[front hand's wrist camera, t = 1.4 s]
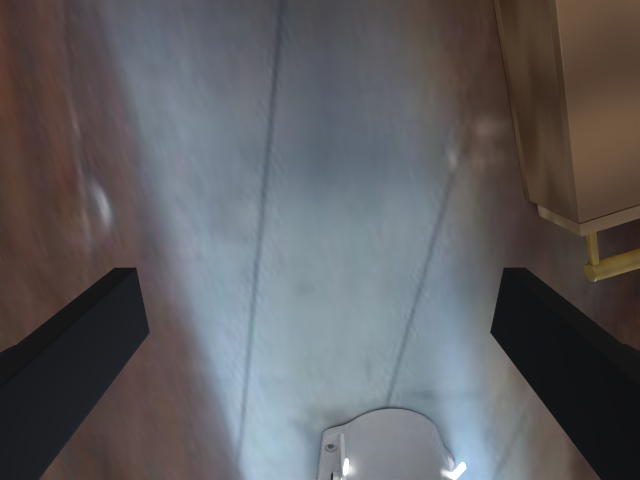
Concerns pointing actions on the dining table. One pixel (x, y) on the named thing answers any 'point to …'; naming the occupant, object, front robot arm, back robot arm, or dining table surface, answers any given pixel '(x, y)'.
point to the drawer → (589, 228)
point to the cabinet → (574, 101)
